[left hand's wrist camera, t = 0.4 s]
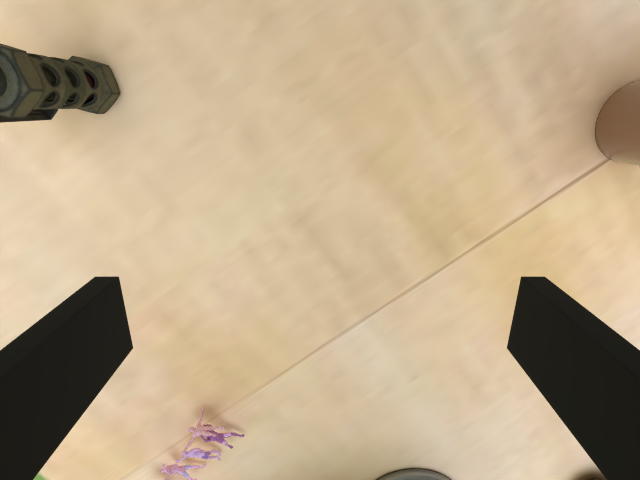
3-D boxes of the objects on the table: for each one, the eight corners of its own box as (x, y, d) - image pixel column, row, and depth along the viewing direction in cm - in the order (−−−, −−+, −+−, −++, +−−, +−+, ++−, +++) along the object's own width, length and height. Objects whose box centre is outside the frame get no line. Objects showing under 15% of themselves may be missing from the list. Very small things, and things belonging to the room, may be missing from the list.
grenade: (81, 27, 34) (-85, -26, 20) (134, 77, 36) (13, 60, 22) (29, 99, 36) (-154, 98, 22) (81, 144, 38) (-61, 169, 24)
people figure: (174, 515, 52) (122, 509, 47) (176, 470, 56) (128, 461, 52) (265, 446, 48) (217, 433, 43) (259, 404, 52) (215, 388, 48)
